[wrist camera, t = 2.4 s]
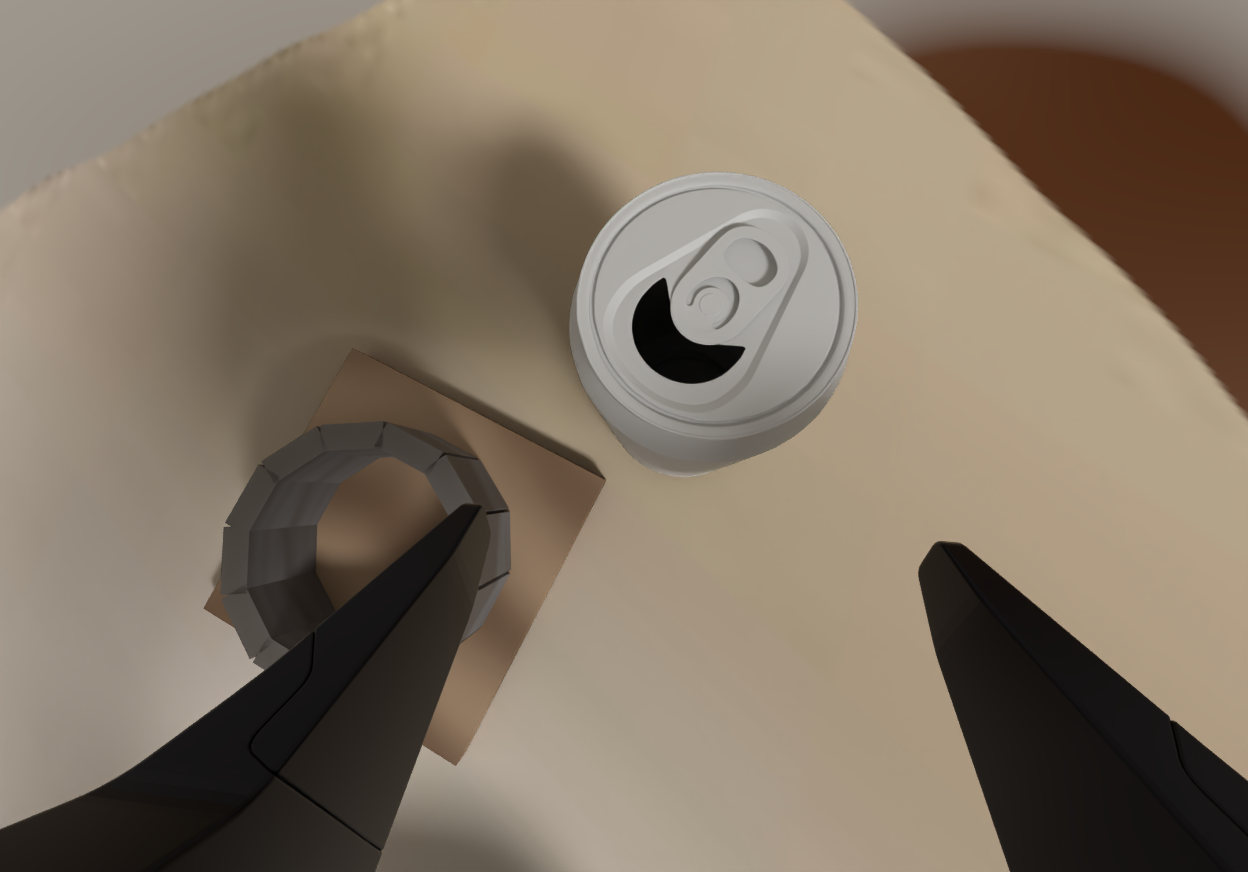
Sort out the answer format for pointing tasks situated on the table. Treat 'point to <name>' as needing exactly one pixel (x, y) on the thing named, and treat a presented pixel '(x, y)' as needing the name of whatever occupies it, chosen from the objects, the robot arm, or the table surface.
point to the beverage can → (712, 320)
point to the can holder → (399, 526)
